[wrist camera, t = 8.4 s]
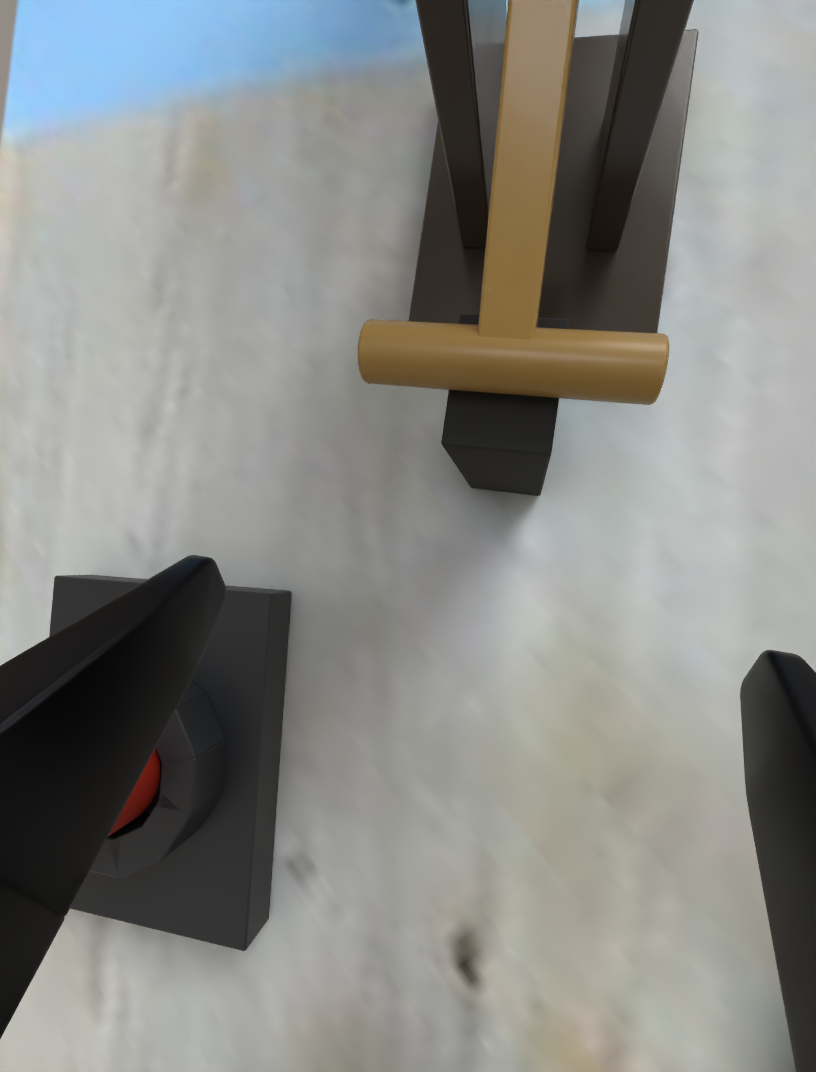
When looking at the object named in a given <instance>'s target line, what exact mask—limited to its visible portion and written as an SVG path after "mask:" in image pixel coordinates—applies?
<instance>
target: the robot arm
mask: <svg viewBox="0 0 816 1072" xmlns="http://www.w3.org/2000/svg"><path fill="white" fill-rule="evenodd" d="M225 599H226V586H225V584H224V581H223V579H222V576H221V574H220V572H219V569H218V567H217V564H216V562H215V561H214V560H213V559H212V558H209V557H203V556H197V555H191V556H188V557H186V558H184V559H182V560H181V561H179V562H177V563H175V564H174V565H172V566H170V567H169V568H167V569H165V570H163V571H162V572H160V573H158V574H157V575H155V576H153V577H151V578H150V579H148V580H146V581H145V582H143V583H141V584H140V585H138V586H136V587H134V588H133V589H131V590H129V591H128V592H126V593H124V594H122V595H121V596H119V597H117V598H116V599H114V600H112V601H110V602H109V603H107V604H105V605H104V606H102V607H100V608H98V609H97V610H95V611H93V612H92V613H90V614H88V615H86V616H85V617H83V618H81V619H80V620H78V621H76V622H74V623H73V624H71V625H69V626H68V627H66V628H64V629H62V630H61V631H59V632H57V633H56V634H54V635H52V636H50V637H49V638H47V639H45V640H44V641H42V642H40V643H38V644H37V645H35V646H33V647H32V648H30V649H28V650H26V651H25V652H23V653H21V654H20V655H18V656H16V657H14V658H13V659H11V660H9V661H8V662H6V663H4V664H2V665H1V666H0V1039H1V1037H2V1035H3V1033H4V1031H5V1029H6V1027H7V1025H8V1024H9V1022H10V1020H11V1018H12V1016H13V1014H14V1012H15V1011H16V1009H17V1007H18V1005H19V1003H20V1001H21V999H22V997H23V996H24V994H25V992H26V990H27V988H28V986H29V984H30V982H31V981H32V979H33V977H34V975H35V973H36V971H37V969H38V968H39V966H40V964H41V962H42V960H43V958H44V956H45V954H46V953H47V951H48V949H49V947H50V945H51V943H52V941H53V939H54V938H55V936H56V934H57V932H58V930H59V928H60V926H61V925H62V923H63V921H64V916H66V914H67V913H68V911H69V909H70V907H71V905H72V903H73V901H74V900H75V898H76V896H77V894H78V892H79V890H80V888H81V886H82V885H83V883H84V881H85V879H86V877H87V875H88V873H89V871H90V870H91V868H92V866H93V864H94V862H95V860H96V858H97V856H98V855H99V853H100V851H101V849H102V847H103V845H104V843H105V841H106V840H107V838H108V836H109V834H110V832H111V830H112V828H113V827H114V825H115V823H116V821H117V819H118V817H119V815H120V813H121V812H122V810H123V808H124V806H125V804H126V802H127V800H128V798H129V797H130V795H131V793H132V791H133V789H134V787H135V785H136V783H137V782H138V780H139V778H140V776H141V774H142V772H143V770H144V768H145V767H146V765H147V763H148V761H149V759H150V757H151V755H152V754H153V752H154V750H155V748H156V746H157V744H158V742H159V740H160V739H161V737H162V735H163V733H164V731H165V729H166V727H167V725H168V724H169V722H170V720H171V718H172V716H173V714H174V712H175V710H176V709H177V707H178V705H179V703H180V701H181V699H182V697H183V695H184V694H185V692H186V690H187V688H188V686H189V684H190V682H191V680H192V678H193V676H194V674H195V672H196V670H197V668H198V666H199V663H200V661H201V659H202V656H203V654H204V651H205V649H206V646H207V644H208V641H209V639H210V636H211V634H212V632H213V629H214V627H215V624H216V622H217V619H218V617H219V614H220V612H221V609H222V607H223V604H224V602H225ZM740 699H741V717H742V735H743V752H744V770H745V784H746V795H747V802H748V808H749V814H750V820H751V825H752V831H753V836H754V842H755V847H756V853H757V858H758V864H759V869H760V875H761V880H762V886H763V891H764V897H765V902H766V908H767V913H768V919H769V924H770V930H771V935H772V941H773V946H774V952H775V957H776V963H777V968H778V974H779V979H780V985H781V990H782V996H783V1001H784V1007H785V1012H786V1018H787V1023H788V1029H789V1034H790V1040H791V1045H792V1051H793V1056H794V1062H795V1067H796V1072H816V672H815V671H814V670H813V669H812V668H811V667H810V666H809V665H808V664H807V663H806V661H805V660H803V659H802V658H801V657H800V656H798V655H796V654H792V653H786V652H780V651H774V650H766V651H764V652H763V653H762V654H761V655H760V656H759V658H758V659H757V660H756V662H755V663H754V665H753V666H752V668H751V669H750V671H749V672H748V674H747V675H746V677H745V678H744V680H743V682H742V685H741V691H740Z"/></svg>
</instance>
